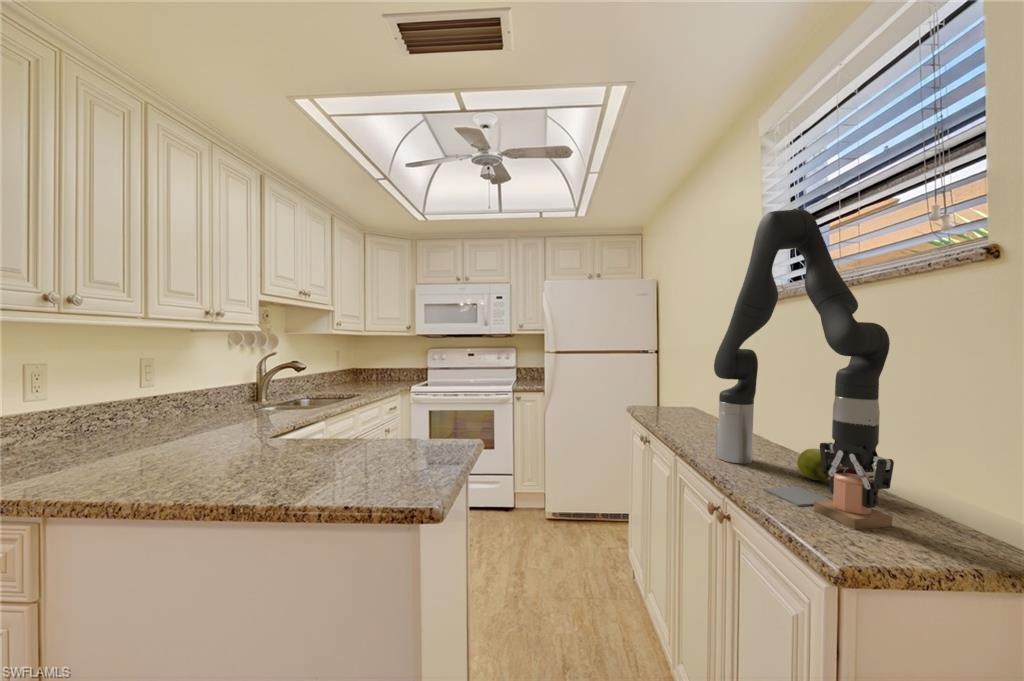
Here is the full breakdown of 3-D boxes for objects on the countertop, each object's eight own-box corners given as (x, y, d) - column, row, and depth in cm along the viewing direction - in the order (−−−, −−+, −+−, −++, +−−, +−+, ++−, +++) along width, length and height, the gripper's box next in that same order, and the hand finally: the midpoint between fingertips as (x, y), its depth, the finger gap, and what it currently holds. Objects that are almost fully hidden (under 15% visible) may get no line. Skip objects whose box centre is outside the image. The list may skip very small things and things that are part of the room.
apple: (820, 474, 118) (821, 445, 118) (842, 486, 109) (843, 454, 109) (790, 473, 119) (791, 444, 119) (809, 484, 110) (810, 453, 110)
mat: (763, 489, 105) (763, 488, 105) (798, 488, 107) (798, 486, 107) (798, 506, 95) (798, 504, 95) (836, 503, 97) (836, 502, 97)
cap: (826, 503, 92) (827, 473, 92) (849, 502, 93) (850, 472, 93) (855, 515, 86) (855, 483, 86) (879, 513, 87) (880, 481, 87)
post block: (813, 510, 93) (815, 478, 93) (848, 508, 95) (849, 476, 95) (854, 529, 84) (855, 493, 84) (892, 526, 86) (893, 491, 86)
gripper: (809, 413, 96) (806, 489, 96) (875, 427, 82) (872, 516, 82) (838, 412, 97) (835, 487, 97) (908, 426, 83) (904, 514, 83)
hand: (852, 500), depth 90 cm, fingers closed on cap, 6 cm apart
